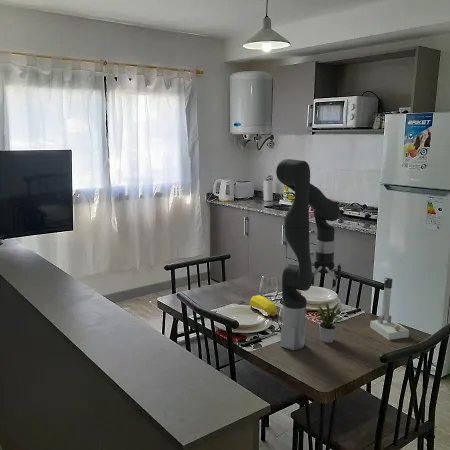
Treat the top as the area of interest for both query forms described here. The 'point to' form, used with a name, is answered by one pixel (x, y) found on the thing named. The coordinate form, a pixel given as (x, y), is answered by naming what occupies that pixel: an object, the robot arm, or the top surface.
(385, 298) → the press lever
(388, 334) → the press base
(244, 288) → the top surface
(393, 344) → the top surface
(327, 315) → the house plant
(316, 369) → the top surface
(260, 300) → the yellow curved elongated piece
